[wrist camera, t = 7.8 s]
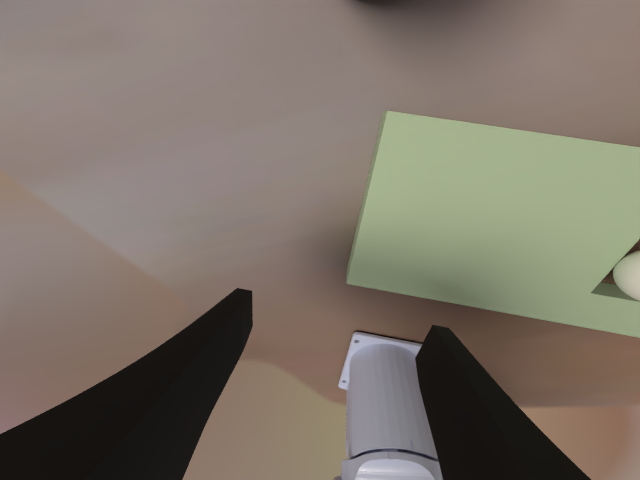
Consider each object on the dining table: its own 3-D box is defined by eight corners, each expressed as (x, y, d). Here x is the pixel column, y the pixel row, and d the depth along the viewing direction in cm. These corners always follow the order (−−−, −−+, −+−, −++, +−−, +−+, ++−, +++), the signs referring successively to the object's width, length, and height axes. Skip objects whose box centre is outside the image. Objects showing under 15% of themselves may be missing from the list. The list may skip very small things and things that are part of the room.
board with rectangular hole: (637, 321, 19) (778, 420, 12) (347, 269, 20) (344, 336, 14) (815, 164, 13) (1250, 205, 7) (385, 102, 14) (411, 88, 8)
